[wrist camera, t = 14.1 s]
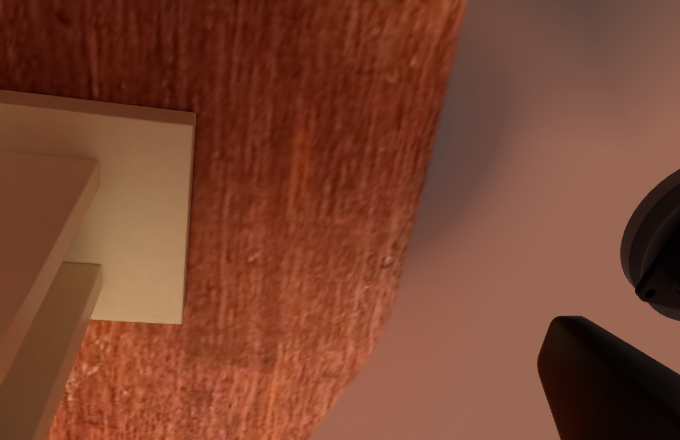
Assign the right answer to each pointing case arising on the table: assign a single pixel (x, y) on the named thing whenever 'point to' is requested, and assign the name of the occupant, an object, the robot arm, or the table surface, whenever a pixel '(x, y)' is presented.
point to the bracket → (84, 236)
